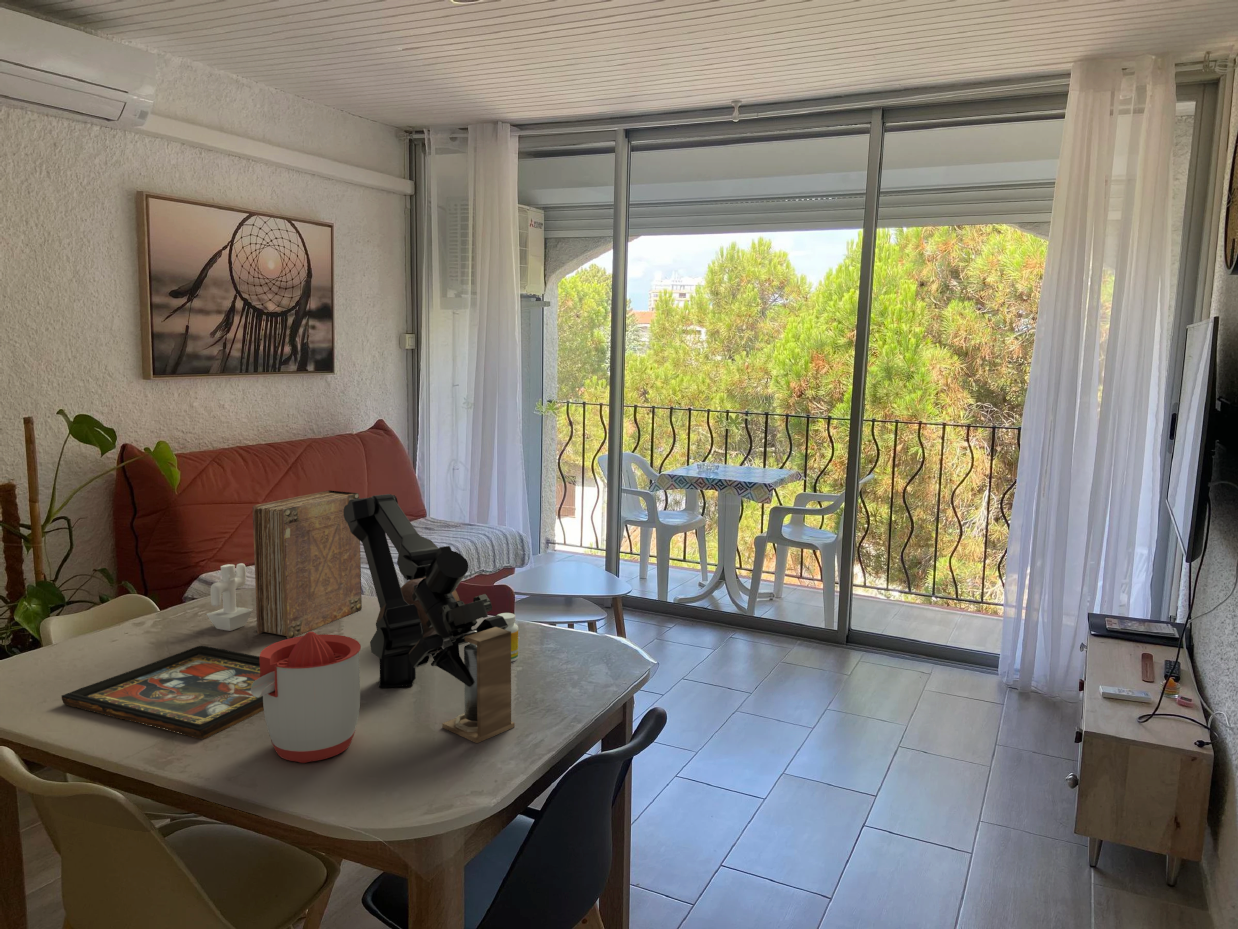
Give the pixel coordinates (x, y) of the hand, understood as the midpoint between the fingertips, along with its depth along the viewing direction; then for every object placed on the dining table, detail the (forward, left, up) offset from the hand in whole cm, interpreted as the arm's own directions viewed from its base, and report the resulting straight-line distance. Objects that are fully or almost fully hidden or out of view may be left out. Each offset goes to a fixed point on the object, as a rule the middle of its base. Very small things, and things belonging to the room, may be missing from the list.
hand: (482, 681), depth 151 cm
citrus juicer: (-28, -4, -9) cm, 30 cm away
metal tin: (-1, +1, -7) cm, 7 cm away
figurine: (-57, +64, -9) cm, 87 cm away
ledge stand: (-1, +1, -9) cm, 9 cm away
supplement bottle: (+6, +34, -9) cm, 36 cm away
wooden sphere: (-11, +48, -9) cm, 50 cm away
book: (-39, +66, -9) cm, 78 cm away
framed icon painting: (-53, +25, -9) cm, 59 cm away
